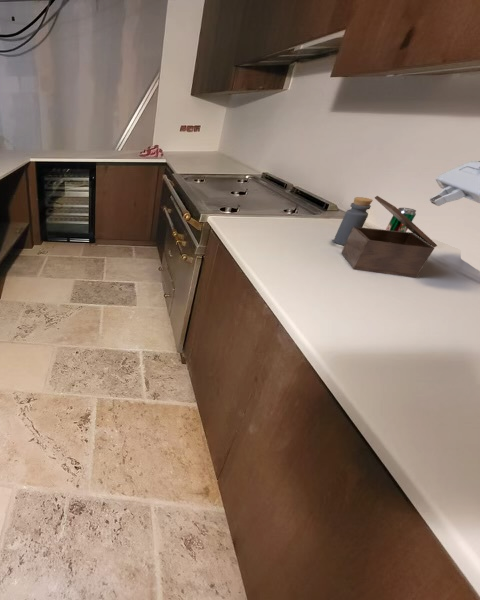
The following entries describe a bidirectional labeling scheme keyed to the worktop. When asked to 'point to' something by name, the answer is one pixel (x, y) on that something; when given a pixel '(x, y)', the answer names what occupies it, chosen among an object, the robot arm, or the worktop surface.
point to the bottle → (353, 219)
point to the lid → (405, 221)
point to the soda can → (396, 224)
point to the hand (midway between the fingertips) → (433, 202)
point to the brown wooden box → (386, 251)
